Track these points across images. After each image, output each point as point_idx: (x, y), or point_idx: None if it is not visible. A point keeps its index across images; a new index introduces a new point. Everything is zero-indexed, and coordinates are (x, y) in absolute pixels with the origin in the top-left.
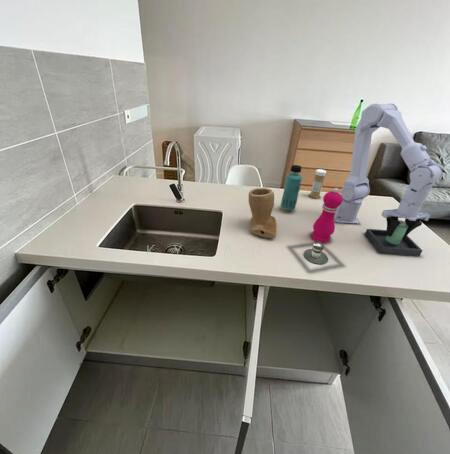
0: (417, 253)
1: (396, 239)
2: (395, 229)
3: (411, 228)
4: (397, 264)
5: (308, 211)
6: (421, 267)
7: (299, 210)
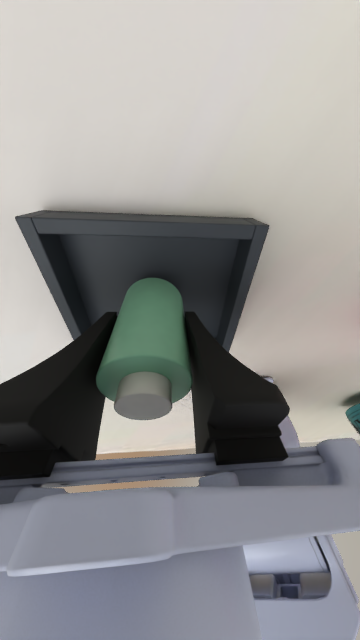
0: (51, 213)
1: (160, 293)
2: (184, 344)
3: (75, 358)
4: (218, 89)
5: (306, 401)
6: (51, 51)
7: (326, 401)
